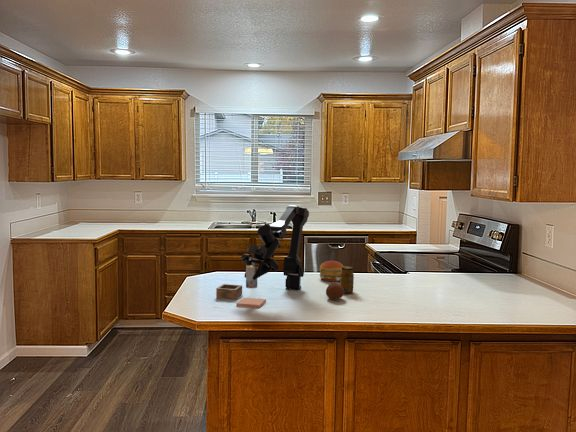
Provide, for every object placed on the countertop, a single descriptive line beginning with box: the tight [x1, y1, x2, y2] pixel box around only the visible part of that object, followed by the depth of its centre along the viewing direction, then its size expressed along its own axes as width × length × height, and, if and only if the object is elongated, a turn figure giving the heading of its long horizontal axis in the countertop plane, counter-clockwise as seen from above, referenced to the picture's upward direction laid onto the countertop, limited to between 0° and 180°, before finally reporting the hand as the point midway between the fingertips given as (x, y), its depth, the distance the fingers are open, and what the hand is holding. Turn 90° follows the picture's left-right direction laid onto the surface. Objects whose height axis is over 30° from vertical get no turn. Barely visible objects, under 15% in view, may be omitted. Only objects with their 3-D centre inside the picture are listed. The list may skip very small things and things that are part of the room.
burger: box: [319, 260, 345, 282], centre depth 274 cm, size 14×14×10 cm
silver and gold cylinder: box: [245, 264, 259, 289], centre depth 223 cm, size 5×5×9 cm
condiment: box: [339, 265, 358, 296], centre depth 246 cm, size 7×8×12 cm
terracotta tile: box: [235, 297, 267, 309], centre depth 224 cm, size 10×10×1 cm
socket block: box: [215, 283, 243, 301], centre depth 236 cm, size 9×9×4 cm
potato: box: [325, 282, 345, 300], centre depth 235 cm, size 8×11×8 cm
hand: (249, 278), depth 222 cm, fingers closed on silver and gold cylinder, 5 cm apart
